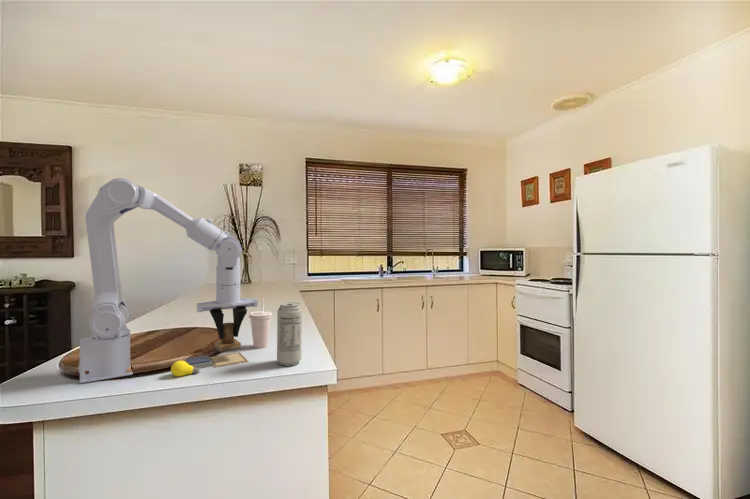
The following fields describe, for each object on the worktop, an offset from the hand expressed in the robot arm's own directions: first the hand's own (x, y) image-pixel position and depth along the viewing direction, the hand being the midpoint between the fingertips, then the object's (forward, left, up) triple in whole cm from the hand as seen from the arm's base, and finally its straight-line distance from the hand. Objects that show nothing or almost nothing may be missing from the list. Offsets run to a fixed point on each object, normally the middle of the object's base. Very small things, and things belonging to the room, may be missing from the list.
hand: (228, 337), depth 96 cm
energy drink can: (+12, -10, -6) cm, 17 cm away
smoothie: (+10, +7, -6) cm, 14 cm away
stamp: (0, 0, -3) cm, 3 cm away
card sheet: (0, 0, -6) cm, 6 cm away
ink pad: (-7, 0, -6) cm, 9 cm away
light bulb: (-11, -5, -6) cm, 13 cm away
